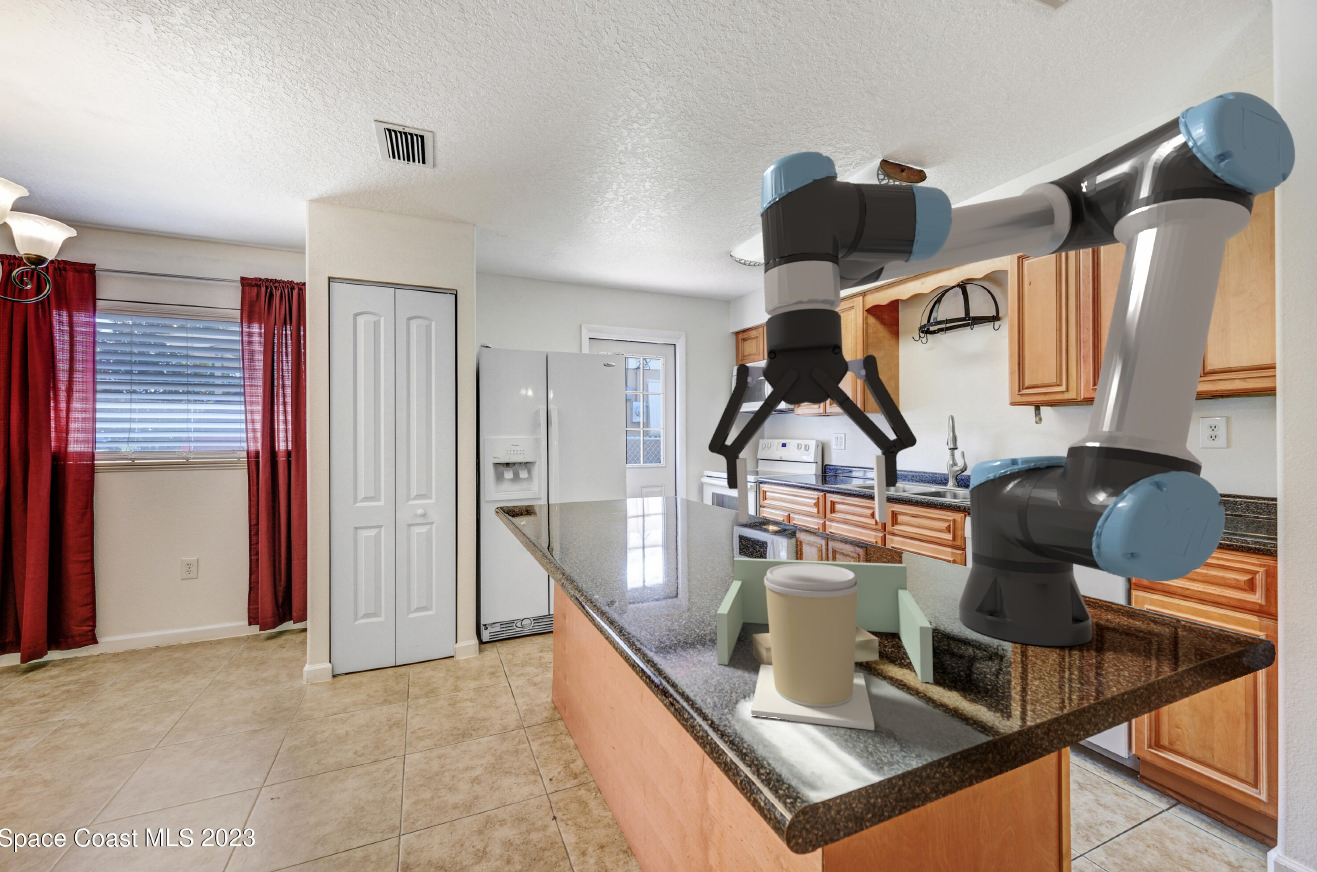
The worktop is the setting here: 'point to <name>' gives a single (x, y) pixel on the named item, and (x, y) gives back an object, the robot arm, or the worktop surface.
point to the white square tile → (844, 715)
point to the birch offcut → (863, 647)
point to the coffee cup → (812, 632)
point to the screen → (877, 606)
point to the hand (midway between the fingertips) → (810, 520)
